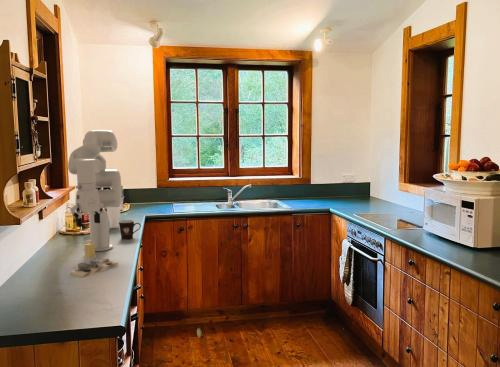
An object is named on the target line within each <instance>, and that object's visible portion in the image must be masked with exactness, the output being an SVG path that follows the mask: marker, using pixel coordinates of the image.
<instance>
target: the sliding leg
mask: <svg viewBox="0 0 500 367" xmlns="http://www.w3.org/2000/svg"><path fill="white" fill-rule="evenodd" d="M84 254H85V255H84V263H86V264H90V265H92V264H95V265H96V267H98V264H100V260H97V256H96V251H95V244H93V243H88V244H85V243H84Z"/></svg>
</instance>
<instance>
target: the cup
mask: <svg viewBox="0 0 500 367" xmlns="http://www.w3.org/2000/svg"><path fill="white" fill-rule="evenodd" d="M122 201H123V200H122V198H121V203H122ZM105 209H106V213H107V214H108V221H109V225H110V228H111V229H118V228H119V227H120V226H119V221H120V216H121V209H122V204H121V205H120V206H118V207H107V208H105Z"/></svg>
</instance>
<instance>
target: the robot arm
mask: <svg viewBox="0 0 500 367" xmlns="http://www.w3.org/2000/svg"><path fill="white" fill-rule="evenodd" d="M117 149H118V140H117V138H116V135H115V133H114V132H113V131H112V130H110V129H109V130H108V129H103V130H102V129H100V130H98V129H97V130H95V129H94V130H88V131H87V132H85V134H84V138H83V140H82V145H81V146H79V147H77V148H76V149H74V150H73V151H71V153H70V155H69V159H68V162H67V163H68V164H67V169H68V172H69V173H70V174H72V175H74V176H75V175H76V180H77V181H76V182H77V183H76V184H77V185H75V188H76V189H77V191H76V194H75V205H74V206H73V207H71V208H70V209H69V210H70V213H71V214H72V216H73V217H74V219H75V224H76V228H82V227H83V218H82V216H83V214H88V216H89V218H88V219H89V233H90V236H89V237H90V239H86V240H85V242H84V245H85V244H88V243H93V244H95V252H104V251H109V250H112V249H113V248H114V247H113V244H111V243H110V228H109V225H110V222H109V218H108V213H107V210H106V211H105V209H106V208H107V207H118V206H120V205H121V206H122V202H121V199H122V178H121V177H122V176H121V173H120V171H119V170H118V169H107V161H106V158H105V157H104V156H103V155H102V154H101V153H114V152H116V150H117ZM97 188H98V189H97ZM99 188H103V189H99ZM104 188H111V189H104Z"/></svg>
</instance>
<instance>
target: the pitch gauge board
mask: <svg viewBox="0 0 500 367" xmlns="http://www.w3.org/2000/svg"><path fill="white" fill-rule="evenodd" d="M99 261H100V264H98V267H96V265H95V264H92V265H90V264H86V263H85V262H80V263H78V264H77V267H75V268H74V269H73V270H70V272H69V273H70V275H71V276H75V277H80V278H84V277H87V276H91V275H94V274H97V273H99V272H103V271H106V270H108V268H109V269H111V267H112V268H114V266H115V267H117V266H116V265H118V266H119V262H118V261H113V260H111V259H110V258H104V259H101V260H99ZM105 269H106V270H105ZM102 270H103V271H102Z"/></svg>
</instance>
